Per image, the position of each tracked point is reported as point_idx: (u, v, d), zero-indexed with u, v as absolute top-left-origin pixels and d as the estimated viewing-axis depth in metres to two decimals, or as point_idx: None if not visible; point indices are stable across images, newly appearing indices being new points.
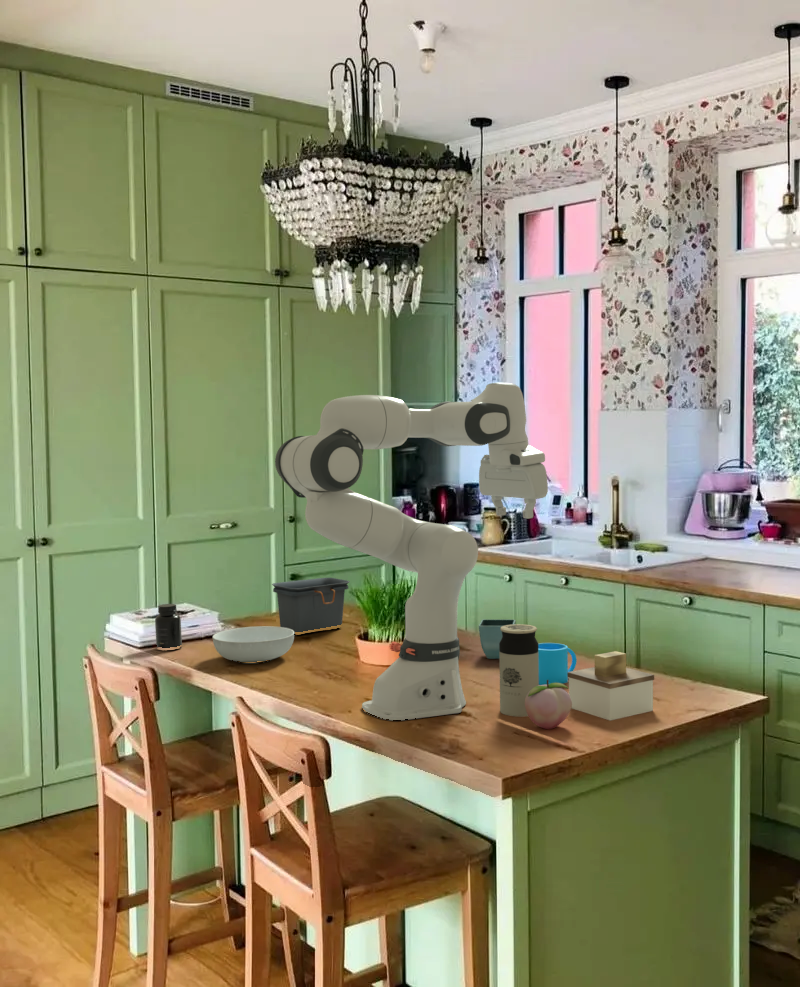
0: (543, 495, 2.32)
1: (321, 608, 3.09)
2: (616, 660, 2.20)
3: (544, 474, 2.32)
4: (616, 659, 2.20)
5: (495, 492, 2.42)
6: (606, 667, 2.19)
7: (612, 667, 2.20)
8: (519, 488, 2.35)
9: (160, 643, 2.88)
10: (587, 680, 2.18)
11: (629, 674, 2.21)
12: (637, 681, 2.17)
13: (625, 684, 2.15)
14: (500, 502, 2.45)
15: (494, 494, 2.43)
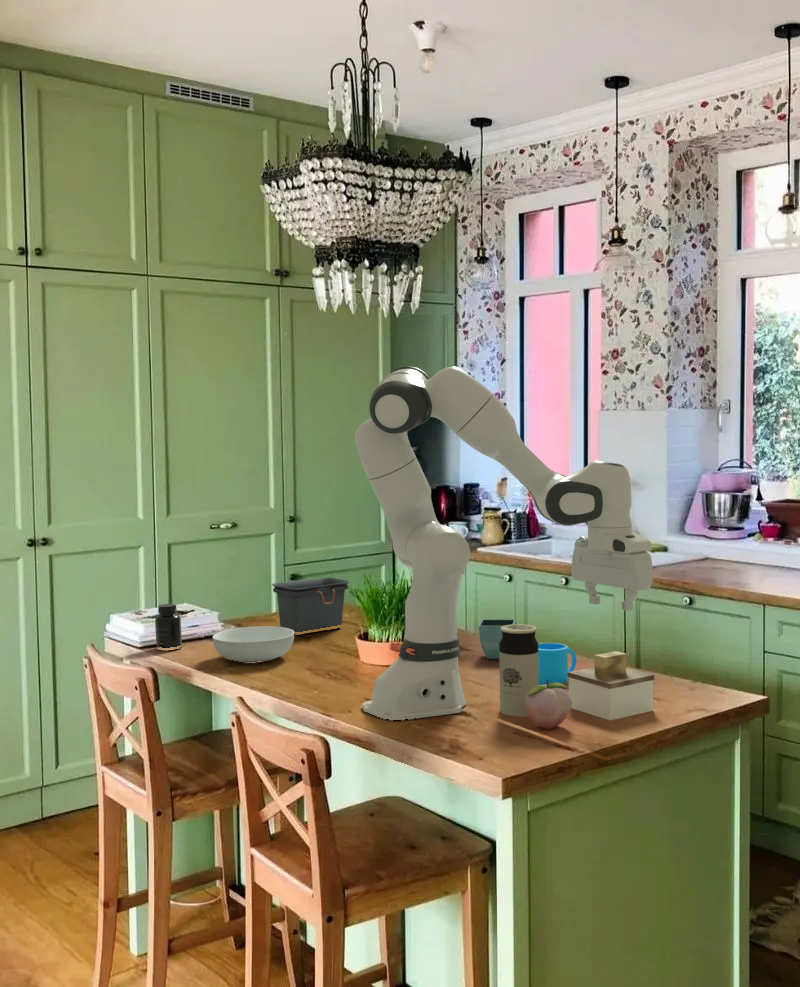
0: (647, 587, 2.12)
1: (321, 608, 3.09)
2: (616, 660, 2.20)
3: (650, 564, 2.13)
4: (616, 659, 2.20)
5: (590, 578, 2.22)
6: (606, 667, 2.19)
7: (612, 667, 2.20)
8: (620, 576, 2.15)
9: (160, 643, 2.88)
10: (587, 680, 2.18)
11: (629, 674, 2.21)
12: (637, 681, 2.17)
13: (625, 684, 2.15)
14: (594, 589, 2.25)
15: (589, 580, 2.23)
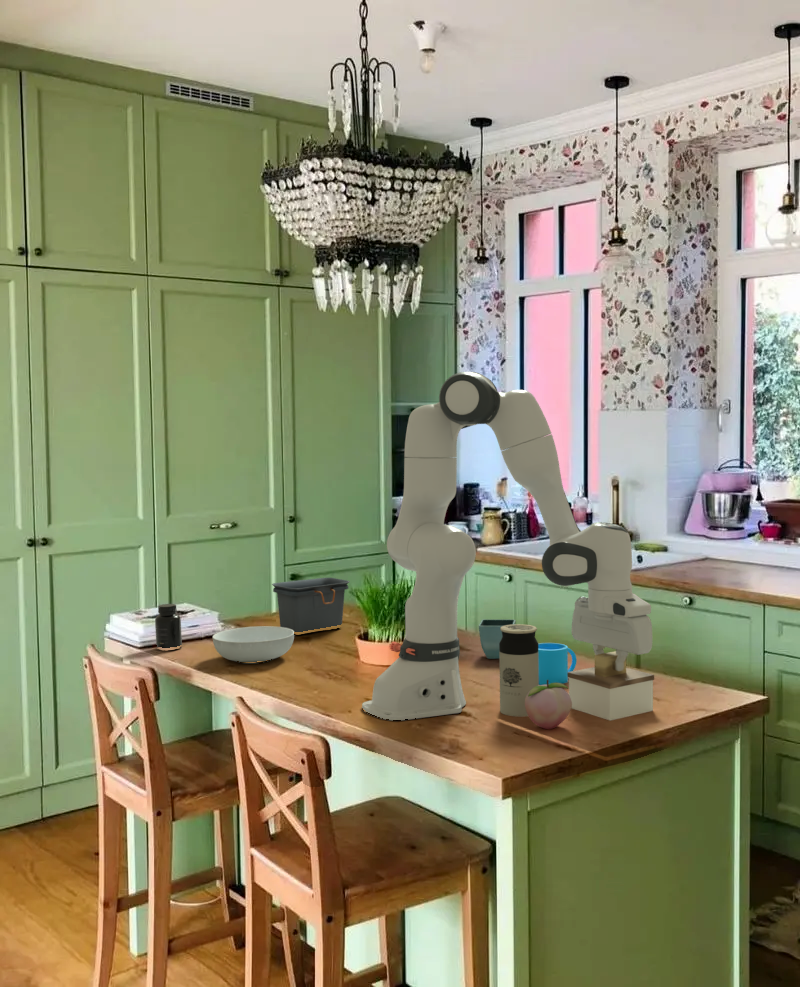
0: (647, 651, 2.13)
1: (321, 608, 3.09)
2: None
3: (650, 628, 2.14)
4: None
5: (590, 639, 2.23)
6: (606, 667, 2.19)
7: None
8: (620, 639, 2.16)
9: (160, 643, 2.88)
10: (587, 680, 2.18)
11: (629, 674, 2.21)
12: (637, 681, 2.17)
13: (625, 684, 2.15)
14: (602, 652, 2.24)
15: (589, 641, 2.24)
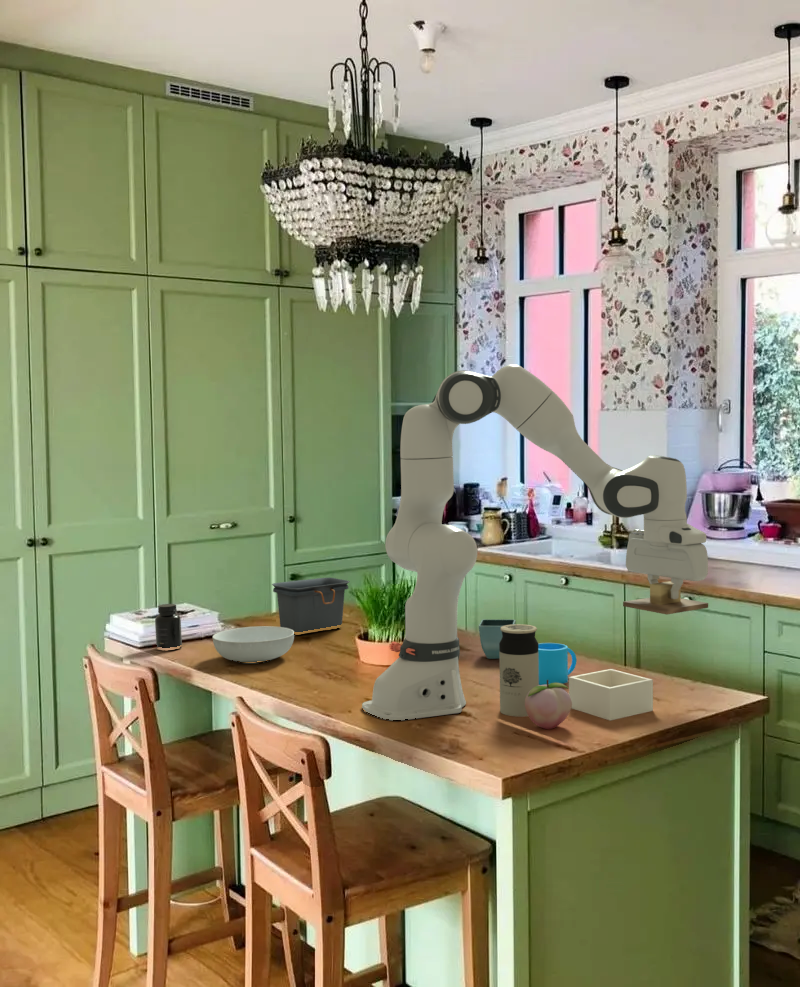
0: (703, 577, 2.20)
1: (321, 608, 3.09)
2: None
3: (705, 555, 2.20)
4: None
5: (645, 569, 2.30)
6: (661, 595, 2.25)
7: None
8: (676, 567, 2.22)
9: (160, 643, 2.88)
10: (643, 608, 2.25)
11: (684, 602, 2.27)
12: (692, 608, 2.24)
13: (681, 610, 2.22)
14: (656, 582, 2.30)
15: (644, 571, 2.30)
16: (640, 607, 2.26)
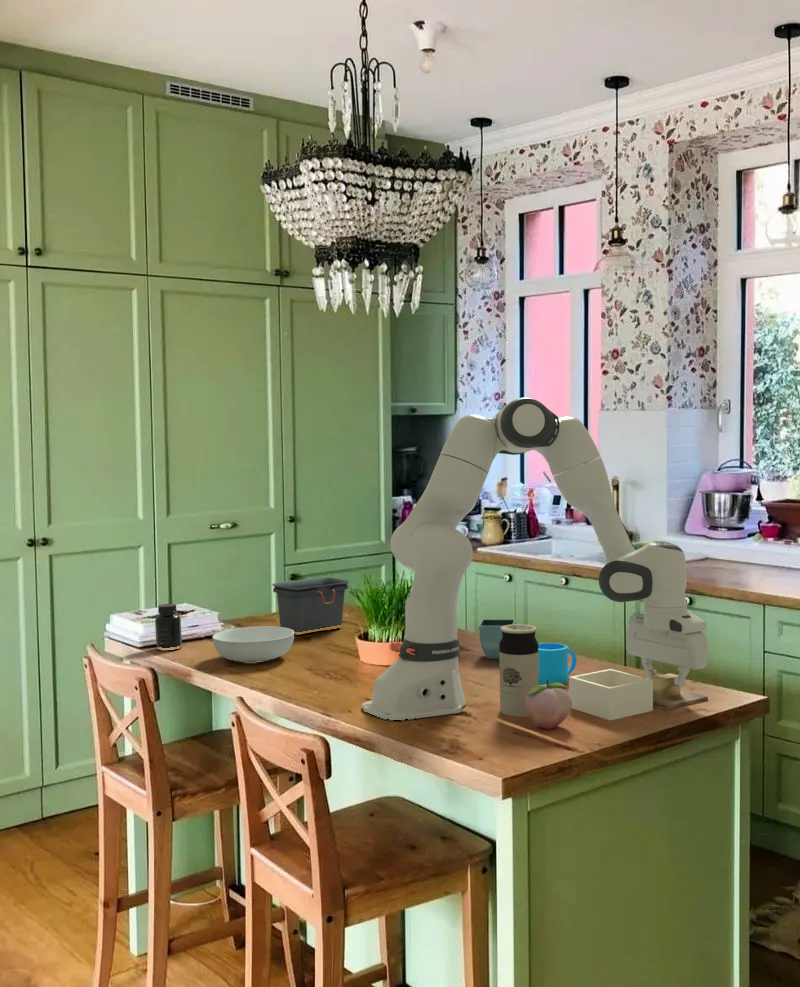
0: (703, 666, 2.21)
1: (321, 608, 3.09)
2: (671, 683, 2.28)
3: (705, 644, 2.21)
4: (670, 682, 2.28)
5: (645, 654, 2.31)
6: (661, 689, 2.27)
7: (667, 689, 2.28)
8: (676, 655, 2.24)
9: (160, 643, 2.88)
10: None
11: (683, 696, 2.28)
12: (692, 703, 2.25)
13: None
14: (650, 664, 2.33)
15: (644, 656, 2.32)
16: None
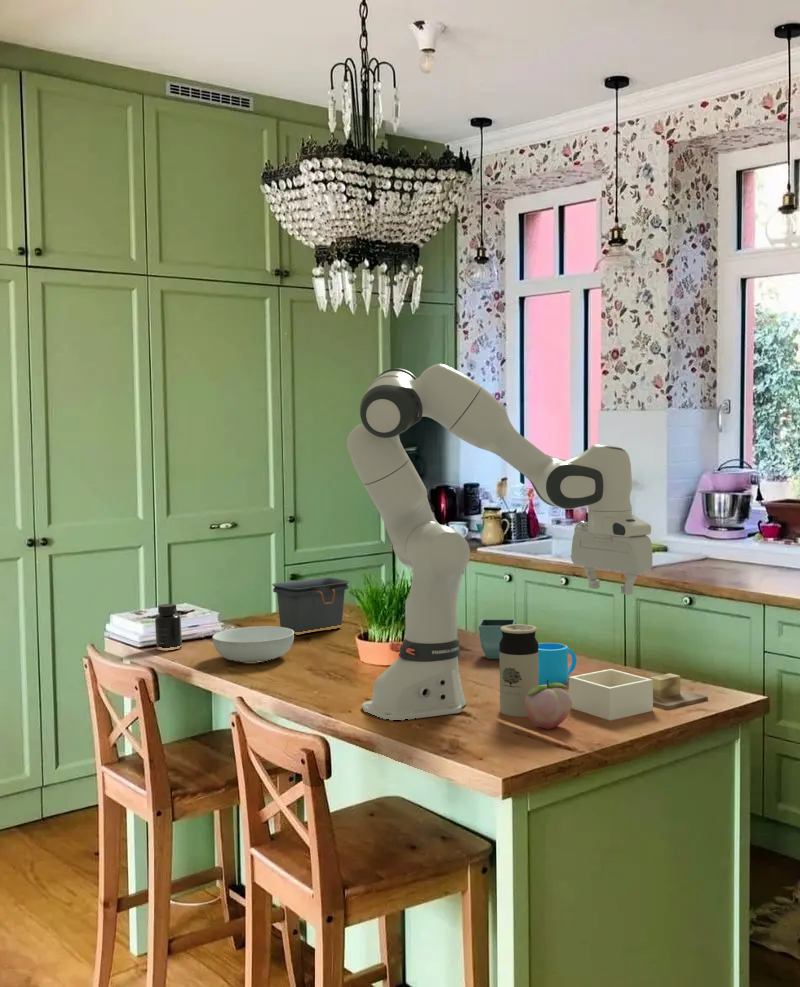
0: (647, 571, 2.12)
1: (321, 608, 3.09)
2: (671, 683, 2.28)
3: (650, 548, 2.12)
4: (670, 682, 2.28)
5: (590, 563, 2.22)
6: (661, 689, 2.27)
7: (667, 689, 2.28)
8: (620, 560, 2.15)
9: (160, 643, 2.88)
10: None
11: (683, 696, 2.28)
12: (692, 703, 2.25)
13: None
14: (593, 574, 2.25)
15: (589, 565, 2.23)
16: None
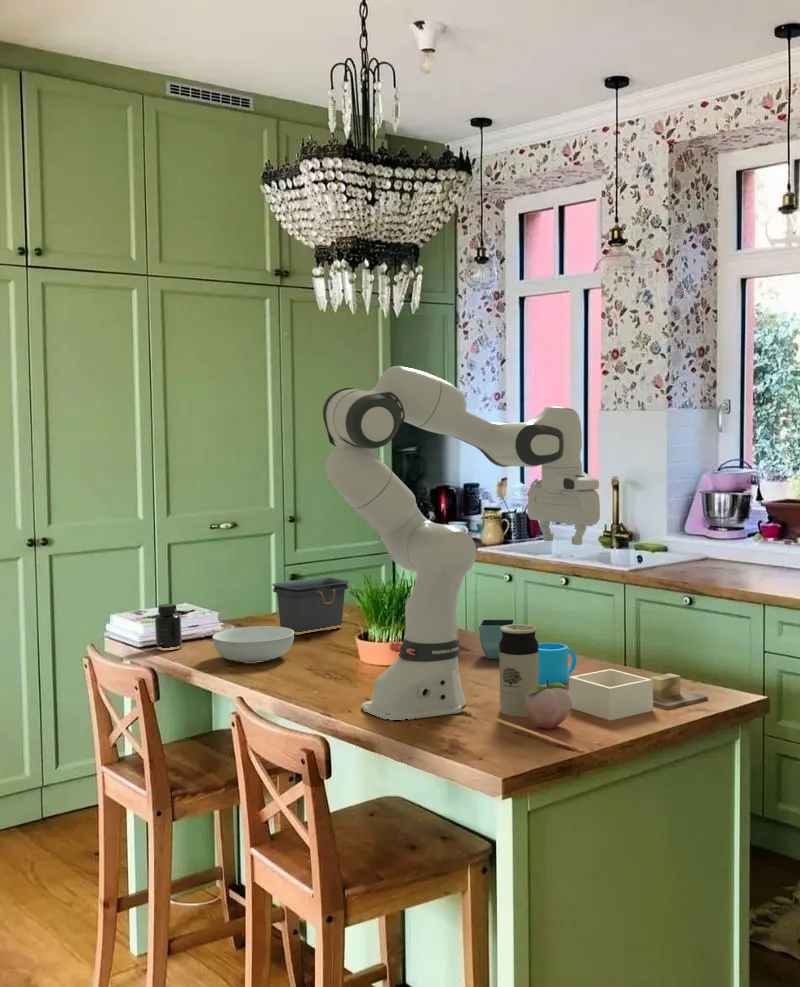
0: (595, 522, 2.30)
1: (321, 608, 3.09)
2: (671, 683, 2.28)
3: (597, 501, 2.30)
4: (670, 682, 2.28)
5: (544, 517, 2.40)
6: (661, 689, 2.27)
7: (667, 689, 2.28)
8: (570, 513, 2.32)
9: (160, 643, 2.88)
10: None
11: (683, 696, 2.28)
12: (692, 703, 2.25)
13: None
14: (548, 528, 2.42)
15: (543, 519, 2.40)
16: None
